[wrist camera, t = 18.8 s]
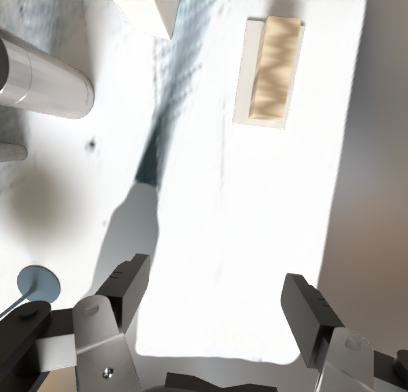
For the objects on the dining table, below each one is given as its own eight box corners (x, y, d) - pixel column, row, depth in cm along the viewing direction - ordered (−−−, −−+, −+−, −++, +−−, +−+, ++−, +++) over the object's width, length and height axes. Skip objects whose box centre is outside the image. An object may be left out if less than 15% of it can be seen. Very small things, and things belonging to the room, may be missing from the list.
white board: (232, 123, 40) (232, 123, 40) (246, 22, 36) (247, 19, 35) (283, 129, 40) (284, 129, 39) (303, 28, 36) (305, 26, 35)
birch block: (252, 114, 34) (268, 15, 31) (248, 118, 39) (260, 33, 36) (282, 117, 34) (301, 18, 31) (274, 121, 39) (289, 36, 36)
